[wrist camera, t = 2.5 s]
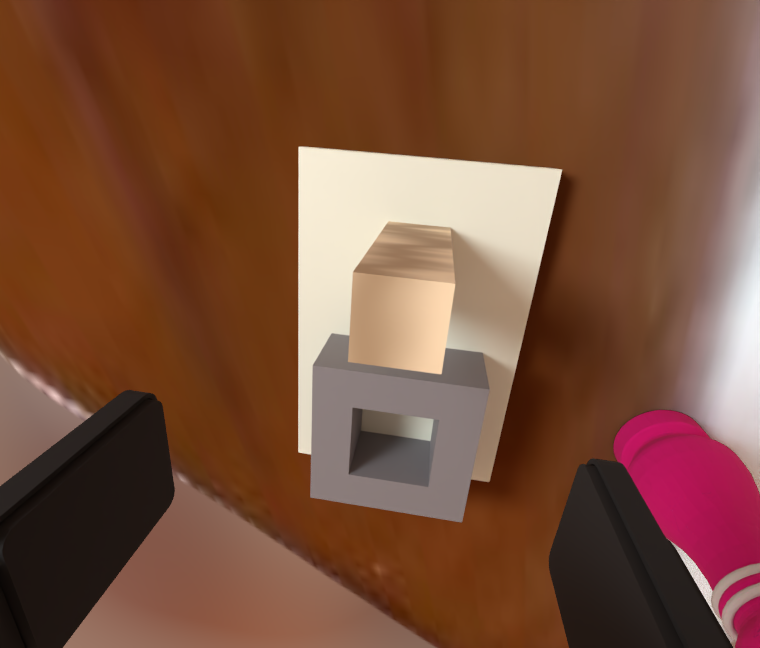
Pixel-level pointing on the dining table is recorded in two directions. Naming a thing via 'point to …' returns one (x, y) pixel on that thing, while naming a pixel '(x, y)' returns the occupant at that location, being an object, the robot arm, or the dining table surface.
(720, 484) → the pink bowling pin
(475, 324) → the board
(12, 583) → the robot arm
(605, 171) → the dining table surface
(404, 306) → the square wooden peg
